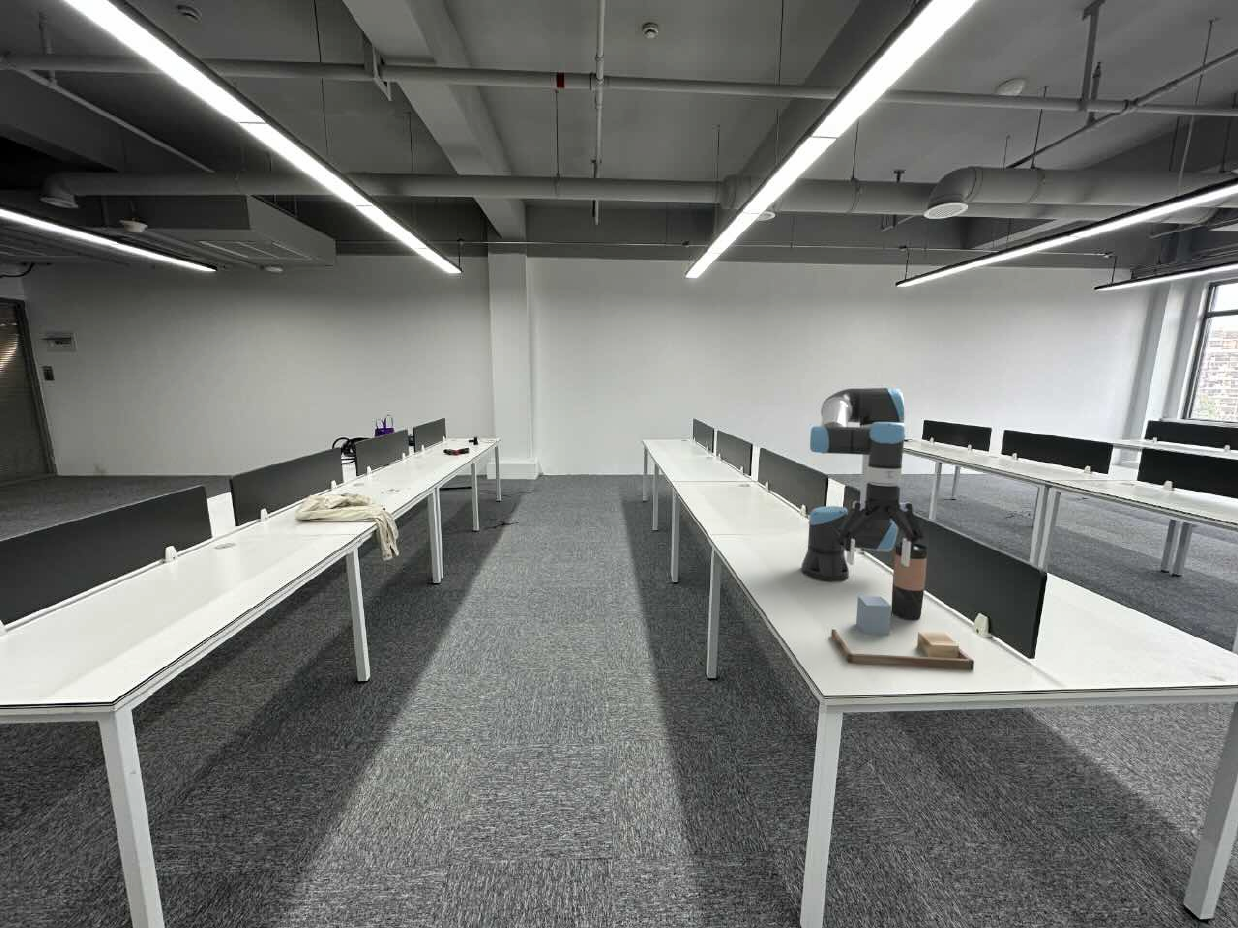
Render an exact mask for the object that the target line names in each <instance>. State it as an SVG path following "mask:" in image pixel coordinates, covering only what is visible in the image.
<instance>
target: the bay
mask: <svg viewBox="0 0 1238 928" xmlns="http://www.w3.org/2000/svg"><path fill="white" fill-rule="evenodd" d="M830 638H832V640H833V641H834V643H835V645H836V646H837V648H838V650H839V651H840V653H841V654H842V655H843V656H844V658H845V660H846V661H847V663H848V664H859V665H878V666H879V665H880V666H898V667H916V668H918V667H921V668H922V667H923V668H935V669H937V668H940V669H953V670H954V669H956V670H974V668H975V667H974V665H975V661H974V660H973V658H971V657H970V656H969V655H968V654H966V653H965V652H964V651H963V650H962V649H961V648H960V647H959V651H958V659H955V658H934V657H927V656H910V655H891V654H890V655H889V654H888V655H886V654H869V653H852V652H851V650H850V649H849V647H848V646H847V645H846V643H845V642H844V640H843V639H842V638H841V636H840V635H839V634H838V631H837V630H836V629H831V634H830Z"/></svg>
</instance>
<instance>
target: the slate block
mask: <svg viewBox="0 0 1238 928" xmlns="http://www.w3.org/2000/svg"><path fill="white" fill-rule="evenodd" d="M891 608H892V605H891V604H889V602H887V601H886V600H885V599H884V598H883V596H873V595H872V596H871V595H857V605H856V618H855V621H856V622H855V625H856V626H857V627H858V628H859V629H860V631H861V632H862V633H863V635H867V636H868V635H869V636H870V635H871V636H889V637H890V630H891V629H890V628H891V627H890V626H891V618H892V617H891V616H892V615H891V614H892V611H891Z"/></svg>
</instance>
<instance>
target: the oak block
mask: <svg viewBox="0 0 1238 928" xmlns="http://www.w3.org/2000/svg"><path fill="white" fill-rule="evenodd" d="M916 648H918V649H919V650H920V651H921V652H922V654H923V655H925V657H934V658H955V659H958V651H959V648H960V645H959V644H957V643H956V641H954V640H953V639H952V638H951V637H950V636H948V635H947V634H946V633H944V632H929V631H928V632H925V631H924V632H921V631H918V632H917V644H916Z"/></svg>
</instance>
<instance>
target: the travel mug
mask: <svg viewBox="0 0 1238 928" xmlns="http://www.w3.org/2000/svg"><path fill="white" fill-rule="evenodd" d="M902 545H903V541H902V542H900V543H898V544H896V543H895V552H894V553H895V554H894V565H893V573H892V574H893V576H892V585H891V586H892V590H891V614H893V615H894V616H895V617H897V618H900V619H904V620H909V621H916V620H919V619H921V615H922V607H923V601H924V593H925V586H926V585H925V584H926V570H927V561H928V560H927V557H928V548H927V546H925V545H924V544H921V543H917V542H915V544H914V552H913V553H910V562H909V567H906V566H905V565H903V564H902V563H901V557H902Z"/></svg>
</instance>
